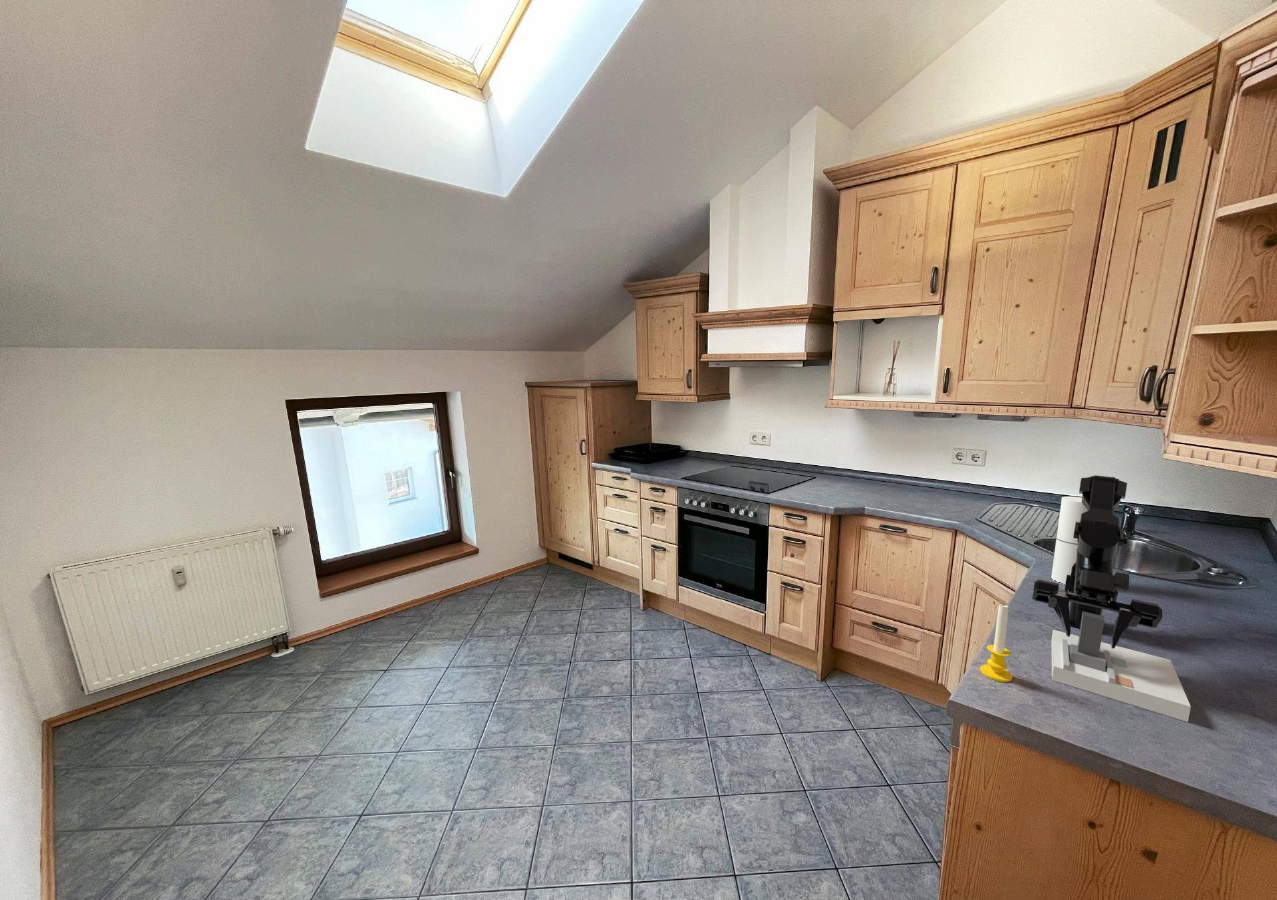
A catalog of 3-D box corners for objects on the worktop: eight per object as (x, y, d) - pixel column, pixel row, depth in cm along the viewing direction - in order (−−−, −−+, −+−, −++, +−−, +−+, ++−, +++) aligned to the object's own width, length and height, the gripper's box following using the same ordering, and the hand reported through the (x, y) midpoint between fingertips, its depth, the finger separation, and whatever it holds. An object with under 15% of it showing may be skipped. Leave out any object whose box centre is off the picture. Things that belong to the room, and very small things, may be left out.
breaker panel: (1051, 641, 107) (1053, 625, 107) (1168, 673, 96) (1171, 655, 95) (1051, 679, 94) (1054, 661, 93) (1187, 722, 82) (1191, 701, 81)
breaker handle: (1069, 652, 98) (1075, 608, 96) (1102, 662, 94) (1109, 615, 93) (1070, 661, 95) (1076, 615, 93) (1104, 671, 91) (1112, 623, 90)
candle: (977, 664, 99) (984, 595, 97) (1007, 669, 97) (1015, 599, 95) (984, 678, 94) (992, 606, 92) (1016, 684, 92) (1025, 611, 90)
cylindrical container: (1049, 574, 143) (1060, 495, 140) (1081, 579, 139) (1092, 498, 136) (1052, 582, 138) (1063, 500, 134) (1085, 588, 134) (1098, 504, 130)
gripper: (1039, 543, 100) (1032, 610, 94) (1169, 565, 88) (1171, 644, 82) (1035, 567, 107) (1028, 631, 101) (1155, 590, 95) (1155, 665, 89)
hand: (1090, 641), depth 93 cm, fingers open, 6 cm apart
